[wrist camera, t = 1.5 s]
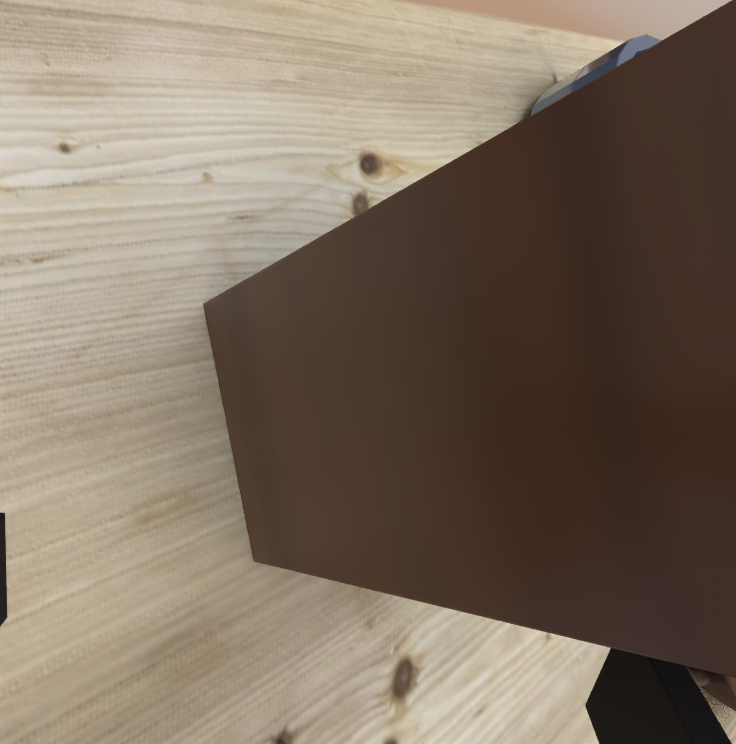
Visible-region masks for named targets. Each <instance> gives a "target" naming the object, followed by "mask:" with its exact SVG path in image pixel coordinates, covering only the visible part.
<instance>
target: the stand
mask: <svg viewBox="0 0 736 744" xmlns="http://www.w3.org/2000/svg"><path fill="white" fill-rule="evenodd" d="M204 308H205V313H206V318H207V323H208V328H209V333H210V339H211V344H212V349H213V354H214V359H215V364H216V369H217V374H218V379H219V384H220V390H221V395H222V400H223V405H224V410H225V415H226V420H227V425H228V430H229V435H230V441H231V446H232V451H233V456H234V461H235V466H236V471H237V476H238V481H239V487H240V492H241V497H242V502H243V507H244V512H245V517H246V522H247V527H248V532H249V538H250V543H251V548H252V553H253V558H254V561H255V562H259V563H263V564H267V565H271V566H275V567H279V568H283V569H288V570H292V571H296V572H300V573H304V574H308V575H312V576H317V577H321V578H325V579H329V580H333V581H337V582H341V583H345V584H350V585H354V586H358V587H362V588H366V589H370V590H374V591H379V592H383V593H387V594H391V595H395V596H399V597H403V598H407V599H412V600H416V601H420V602H424V603H428V604H432V605H436V606H441V607H445V608H449V609H453V610H457V611H461V612H465V613H469V614H474V615H478V616H482V617H486V618H490V619H494V620H498V621H503V622H507V623H511V624H515V625H519V626H523V627H527V628H531V629H536V630H540V631H544V632H548V633H552V634H556V635H560V636H565V637H569V638H573V639H577V640H581V641H585V642H589V643H593V644H598V645H602V646H606V647H610V648H614V649H618V650H622V651H626V652H631V653H635V654H639V655H643V656H647V657H651V658H655V659H660V660H664V661H668V662H672V663H676V664H680V665H684V666H688V667H693V668H697V669H701V670H705V671H709V672H713V673H717V674H722V675H726V676H730V677H734V678H736V0H732V1H730V2H728V3H727V4H725V5H723V6H722V7H720V8H718V9H716V10H715V11H713V12H711V13H709V14H708V15H706V16H704V17H702V18H701V19H699V20H697V21H695V22H694V23H692V24H690V25H688V26H687V27H685V28H683V29H681V30H680V31H678V32H676V33H675V34H673V35H671V36H670V37H668V38H666V39H664V40H662V41H661V42H659V43H657V44H655V45H654V46H652V47H650V48H648V49H647V50H645V51H643V52H641V53H640V54H638V55H636V56H634V57H633V58H631V59H629V60H627V61H626V62H624V63H622V64H620V65H619V66H617V67H615V68H613V69H612V70H610V71H608V72H607V73H605V74H603V75H601V76H600V77H598V78H596V79H594V80H593V81H591V82H589V83H587V84H586V85H584V86H582V87H580V88H579V89H577V90H575V91H573V92H572V93H570V94H568V95H566V96H565V97H563V98H561V99H559V100H558V101H556V102H554V103H553V104H551V105H549V106H547V107H546V108H544V109H542V110H540V111H539V112H537V113H535V114H533V115H532V116H530V117H528V118H526V119H525V120H523V121H521V122H519V123H518V124H516V125H514V126H512V127H511V128H509V129H507V130H505V131H504V132H502V133H500V134H498V135H497V136H495V137H493V138H492V139H490V140H488V141H486V142H485V143H483V144H481V145H479V146H478V147H476V148H474V149H472V150H471V151H469V152H467V153H465V154H464V155H462V156H460V157H458V158H457V159H455V160H453V161H451V162H450V163H448V164H446V165H444V166H443V167H441V168H439V169H437V170H436V171H434V172H432V173H431V174H429V175H427V176H425V177H424V178H422V179H420V180H418V181H417V182H415V183H413V184H411V185H410V186H408V187H406V188H404V189H403V190H401V191H399V192H397V193H396V194H394V195H392V196H390V197H389V198H387V199H385V200H383V201H382V202H380V203H378V204H377V205H375V206H373V207H371V208H370V209H368V210H366V211H364V212H363V213H361V214H359V215H357V216H356V217H354V218H352V219H350V220H349V221H347V222H345V223H343V224H342V225H340V226H338V227H336V228H335V229H333V230H331V231H329V232H328V233H326V234H324V235H322V236H321V237H319V238H317V239H316V240H314V241H312V242H310V243H309V244H307V245H305V246H303V247H302V248H300V249H298V250H296V251H295V252H293V253H291V254H289V255H288V256H286V257H284V258H282V259H281V260H279V261H277V262H275V263H274V264H272V265H270V266H268V267H267V268H265V269H263V270H261V271H260V272H258V273H256V274H255V275H253V276H251V277H249V278H248V279H246V280H244V281H242V282H241V283H239V284H237V285H235V286H234V287H232V288H230V289H228V290H227V291H225V292H223V293H221V294H220V295H218V296H216V297H214V298H213V299H211V300H209V301H207V302H206V303H204Z"/></svg>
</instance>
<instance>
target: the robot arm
mask: <svg viewBox="0 0 736 744" xmlns="http://www.w3.org/2000/svg"><path fill="white" fill-rule="evenodd" d="M6 618H7V586H6V540H5V513H0V626H1V625H2V623H3V622H4V621H5V619H6ZM585 706H586V709H587V712H588V714H589V717H590V720H591V722H592V725H593V728H594V730H595V733H596V736H597V739H598V741H599V744H732V743H731V742H730V740H729V738H728V737H727V735H726V733H725V731H724V730H723V728H722V726H721V725H720V723H719V721H718V720H717V718H716V716H715V715H714V713H713V711H712V709H711V708H710V706H709V704H708V703H707V701H706V699H705V698H704V696H703V694H702V692H701V691H700V689H699V687H698V686H697V684H696V682H695V681H694V679H693V677H692V676H691V674H690V672H689V670H688V669H687V667H686V666H684V665H680V664H676V663H672V662H668V661H664V660H660V659H655V658H651V657H647V656H643V655H639V654H635V653H631V652H626V651H622V650H618V649H614V648H611V649H610V651H609V654H608V656H607V658H606V660H605V663H604V665H603V667H602V669H601V671H600V674H599V676H598V678H597V680H596V683H595V685H594V687H593V689H592V691H591V694H590V696H589V698H588V700H587V703H586V705H585Z"/></svg>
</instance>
